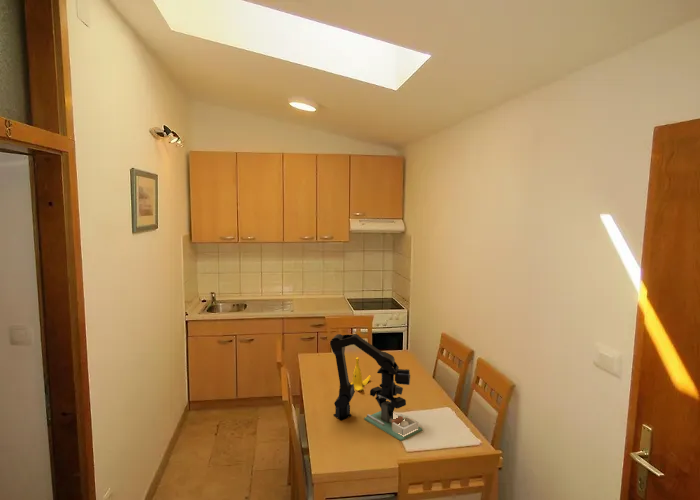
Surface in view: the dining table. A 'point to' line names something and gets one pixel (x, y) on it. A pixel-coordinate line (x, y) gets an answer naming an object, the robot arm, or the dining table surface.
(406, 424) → the ball
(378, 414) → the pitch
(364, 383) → the banana peel
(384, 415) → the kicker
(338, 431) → the dining table surface
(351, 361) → the dining table surface
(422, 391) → the dining table surface
